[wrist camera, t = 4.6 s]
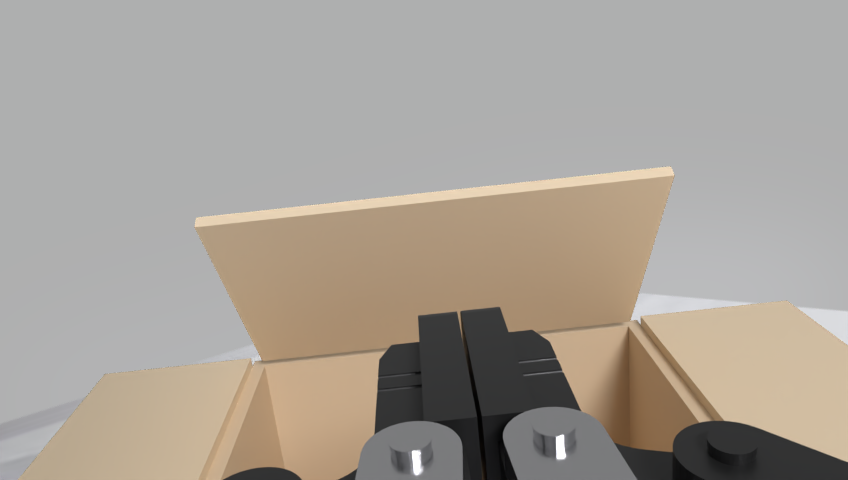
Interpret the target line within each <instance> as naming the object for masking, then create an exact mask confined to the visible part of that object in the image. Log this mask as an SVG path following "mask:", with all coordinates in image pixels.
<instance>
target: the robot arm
mask: <svg viewBox="0 0 848 480" xmlns="http://www.w3.org/2000/svg"><path fill="white" fill-rule="evenodd" d="M460 318H461V329H460V324H459V319H458V314H457V311H456V312H446V313H437V314H427V315H418V327H419V342H413V343H404V344H394V345H391V346H390V347H389V348H388V350H387V351H386V352H385V353H384V355H383V356H382V357H381V358H380V359H379V369H378V385H377V400H376V416H375V432H374V435H373V436H372V437H371V438H370V439H369V440H368V441H367V442H366V443H365V445H364V446H363V448H362V451H361V454H360V459H359V463H358V468H357V469H356V470H354V471H353V472H351V473H350V474H348V475H346V476H344V477H342V478H340V479H338V480H848V462H846V461H843V460H841V459H838V458H835V457H833V456H830V455H828V454H825V453H822V452H820V451H817V450H815V449H812V448H809V447H807V446H804V445H801V444H799V443H796V442H794V441H791V440H788V439H786V438H783V437H780V436H778V435H775V434H773V433H770V432H767V431H765V430H762V429H759V428H757V427H754V426H751V425H747V424H743V423H738V422H731V421H706V422H700V423H696V424H693V425H690V426H688V427H686V428H684V429H683V430H681V431H680V432H679V433H678V434H677V435H676V437H675V439H674V441H673V452H665V451H655V450H645V449H637V448H631V447H627V446H623V445H620V444H617V443H614V442H613V441H612V439H611V438H610V436H609V434H608V433H607V431H606V430H605V428H604V427H603V425H602V424H601V423H600V422H599V421H598V420H597V419H595V418H594V417H592V416H591V415H589V414H586V413H584V412H582V411H581V409H580V407H579V405H578V403H577V401H576V398H575V396H574V394H573V392H572V390H571V387H570V385H569V383H568V381H567V379H566V376H565V374H564V373H563V371H562V368H561V365H560V363H559V361H558V360H557V357H556V354H555V352H554V350H553V348H552V346H551V343H550V341H548V340H547V339H545V338H544V337H542V336H541V335H539V334H538V333H536V332H535V331H533V330H525V331H515V332H508V329H507V326H506V323H505V320H504V317H503V314H502V311H501V308H500V307H492V308H483V309H473V310H464V311H460ZM461 330H462V335H461ZM223 480H302V479H301V478H300V477H299V476H298V475H297V474H295V473H293V472H292V471H290V470H287V469H283V468H278V467H260V468H254V469H249V470H245V471H242V472H239V473H236V474H233V475H231V476H229V477H227V478H225V479H223Z"/></svg>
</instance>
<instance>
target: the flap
mask: <svg viewBox="0 0 848 480" xmlns="http://www.w3.org/2000/svg"><path fill="white" fill-rule="evenodd" d="M674 176H675V175H674V173H673V170H672V168H671V166H670V167H661V168H651V169H643V170H633V171H623V172H614V173H605V174H596V175H586V176H578V177H568V178H560V179H549V180H540V181H531V182H522V183H512V184H503V185H494V186H484V187H476V188H466V189H457V190H447V191H439V192H429V193H420V194H411V195H402V196H392V197H383V198H373V199H364V200H355V201H346V202H336V203H327V204H318V205H309V206H299V207H290V208H281V209H272V210H263V211H253V212H244V213H236V214H235V213H234V214H226V215H216V216H207V217H197V218H196V221H195V229H196V231H197V233H198V235H199V237H200V239H201V241H202V243H203V245H204V247H205V249H206V251H207V253H208V255H209V257H210V258H211V261H212V263H213V264H214V267H215V269H216V270H217V272H218V274H219V276H220V278H221V280H222V282H223V284H224V286H225V288H226V290H227V292H228V294H229V296H230V298H231V300H232V302H233V304H234V306H235V308H236V310H237V312H238V314H239V316H240V318H241V320H242V322H243V324H244V325H245V328H246V330H247V331H248V333H249V335H250V337H251V339H252V341H253V343H254V345H255V347H256V349H257V351H258V353H259V355H260V357H261V359H262V361H269V360H278V359H288V358H297V357H306V356H316V355H325V354H334V353H343V352H353V351H362V350H371V349H380V348H389V347H390V346H391V345H394V344H404V343H413V342H419V327H418V315H427V314H437V313H446V312H456V311H457V314H458V319H459V324H460V329H461V318H460V311H464V310H473V309H483V308H492V307H500V308H501V311H502V314H503V317H504V320H505V323H506V326H507V329H508V332H515V331H525V330H533V331H535V332H538V331H547V330H556V329H566V328H575V327H584V326H593V325H603V324H612V323H621V322H630V320H631V317H632V313H633V310H634V307H635V304H636V300H637V297H638V294H639V290H640V287H641V284H642V281H643V277H644V274H645V271H646V267H647V264H648V261H649V258H650V255H651V251H652V248H653V245H654V242H655V238H656V235H657V232H658V228H659V225H660V222H661V218H662V215H663V212H664V209H665V206H666V202H667V199H668V195H669V192H670V189H671V186H672V183H673V179H674ZM461 335H462V330H461Z"/></svg>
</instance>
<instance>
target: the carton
mask: <svg viewBox="0 0 848 480" xmlns="http://www.w3.org/2000/svg"><path fill="white" fill-rule="evenodd" d="M536 333H538V334H539V335H541V336H542V337H544V338H545V339H547V340H548V341H550V343H551V346H552V348H553V350H554V352H555V354H556V357H557V360H558V361H559V363H560V365H561V368H562V371H563V373H564V374H565V376H566V379H567V381H568V383H569V385H570V387H571V390H572V392H573V394H574V396H575V398H576V401H577V403H578V405H579V407H580V409H581V411H582V412H584V413H586V414H589V415H591V416H592V417H594V418H595V419H597V420H598V421H599V422H600V423H601V424H602V425H603V427H604V428H605V430H606V431H607V433H608V434H609V436H610V438H611V439H612V441H613V442H614V443H617V444H620V445H623V446H627V447H631V448H637V449H645V450H655V451H665V452H673V441H674V439H675V437H676V435H677V434H678V433H679V432H680V431H681V430H683V429H684V428H686V427H688V426H690V425H693V424H696V423H700V422H706V421H731V422H738V423H743V424H747V425H751V426H754V427H757V428H759V429H762V430H765V431H767V432H770V433H773V434H775V435H778V436H780V437H783V438H786V439H788V440H791V441H794V442H796V443H799V444H801V445H804V446H807V447H809V448H812V449H815V450H817V451H820V452H822V453H825V454H828V455H830V456H833V457H835V458H838V459H841V460H843V461H846V462H848V345H847V344H845V343H844V342H843V341H841V340H840V339H838V338H837V337H836V336H834V335H833V334H832V333H830V332H829V331H828V330H826V329H825V328H824V327H822V326H821V325H819V324H818V323H817V322H815V321H814V320H813V319H811V318H810V317H809V316H807V315H806V314H805V313H803V312H802V311H800V310H799V309H798V308H796V307H795V306H794V305H792V304H791V303H790V302H788V301H778V302H769V303H759V304H750V305H741V306H731V307H722V308H713V309H704V310H694V311H685V312H676V313H666V314H657V315H648V316H641V325H640V324H639V322H638V321H637V320H633V321H630V322H621V323H612V324H603V325H593V326H584V327H575V328H566V329H556V330H547V331H538V332H536ZM387 350H388V348H380V349H371V350H362V351H353V352H343V353H334V354H325V355H316V356H306V357H297V358H288V359H278V360H269V361H255V363H254V365H253V366H252V361H251V358H250V359H240V360H231V361H222V362H213V363H203V364H194V365H185V366H176V367H166V368H158V369H148V370H139V371H130V372H120V373H111V374H105V375H104V376H103V377H102V378H101V379H100V381H99V382H98V383H97V384H96V386H95V387H94V388H93V389H92V390H91V392H90V393H89V394H88V395H87V396H86V398H85V399H84V400H83V401H82V402H81V404H80V405H79V406H78V407H77V409H76V410H75V411H74V412H73V413H72V415H71V416H70V417H69V418H68V419H67V421H66V422H65V423H64V424H63V426H62V427H61V428H60V429H59V430H58V432H57V433H56V434H55V435H54V436H53V438H52V439H51V440H50V441H49V443H48V444H47V445H46V446H45V447H44V449H43V450H42V451H41V452H40V453H39V455H38V456H37V457H36V458H35V460H34V461H33V462H32V463H31V464H30V466H29V467H28V468H27V469H26V470H25V472H24V473H23V474H22V475H21V477H20V478H19V479H18V480H223V479H225V478H227V477H229V476H231V475H233V474H236V473H239V472H242V471H245V470H249V469H254V468H260V467H278V468H283V469H287V470H290V471H292V472H293V473H295V474H297V475H298V476H299V477H300V478H301V479H302V480H338V479H340V478H342V477H344V476H346V475H348V474H350V473H351V472H353V471H354V470H356V469H357V468H358V463H359V459H360V454H361V451H362V448H363V446H364V445H365V443H366V442H367V441H368V440H369V439H370V438H371V437H372V436H373V435H374V432H375V416H376V400H377V385H378V369H379V359H380V358H381V357H382V356H383V355H384V353H385V352H386V351H387Z"/></svg>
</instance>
